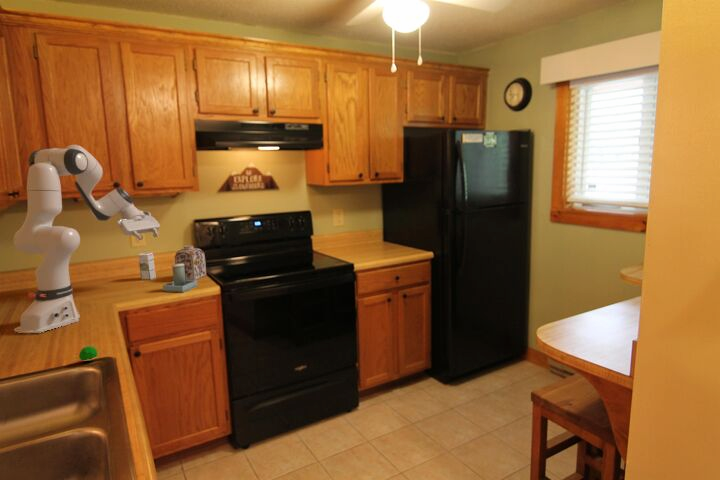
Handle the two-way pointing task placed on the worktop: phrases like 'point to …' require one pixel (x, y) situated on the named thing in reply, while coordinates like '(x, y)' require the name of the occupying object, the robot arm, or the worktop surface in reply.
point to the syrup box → (146, 266)
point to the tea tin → (179, 274)
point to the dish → (188, 286)
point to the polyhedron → (88, 353)
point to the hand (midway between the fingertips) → (149, 237)
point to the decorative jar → (192, 262)
